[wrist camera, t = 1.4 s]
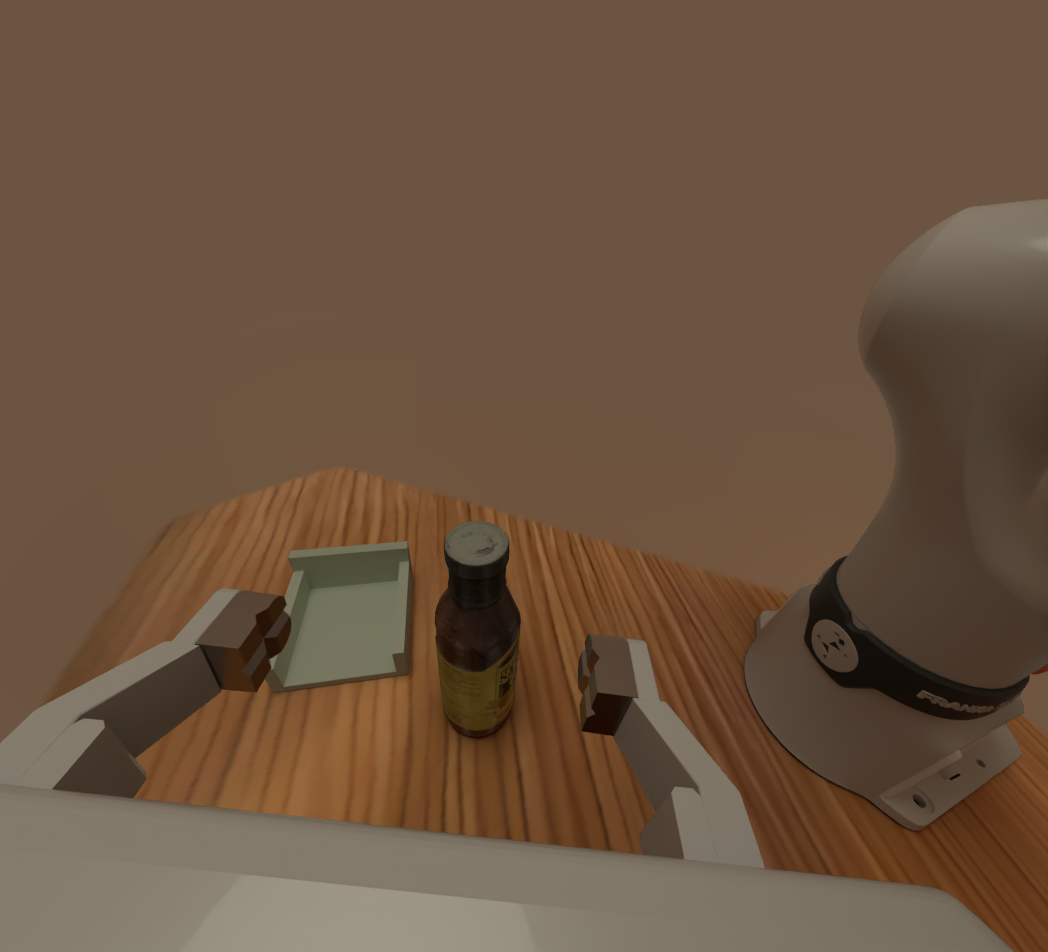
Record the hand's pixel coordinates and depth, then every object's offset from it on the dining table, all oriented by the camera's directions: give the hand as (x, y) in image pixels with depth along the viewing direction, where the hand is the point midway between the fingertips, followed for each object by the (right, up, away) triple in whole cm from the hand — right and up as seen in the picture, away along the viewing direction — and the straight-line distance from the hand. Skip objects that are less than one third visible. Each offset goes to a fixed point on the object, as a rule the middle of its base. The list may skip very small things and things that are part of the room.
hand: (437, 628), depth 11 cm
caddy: (-15, -11, +31) cm, 36 cm away
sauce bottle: (-2, -16, +26) cm, 30 cm away
